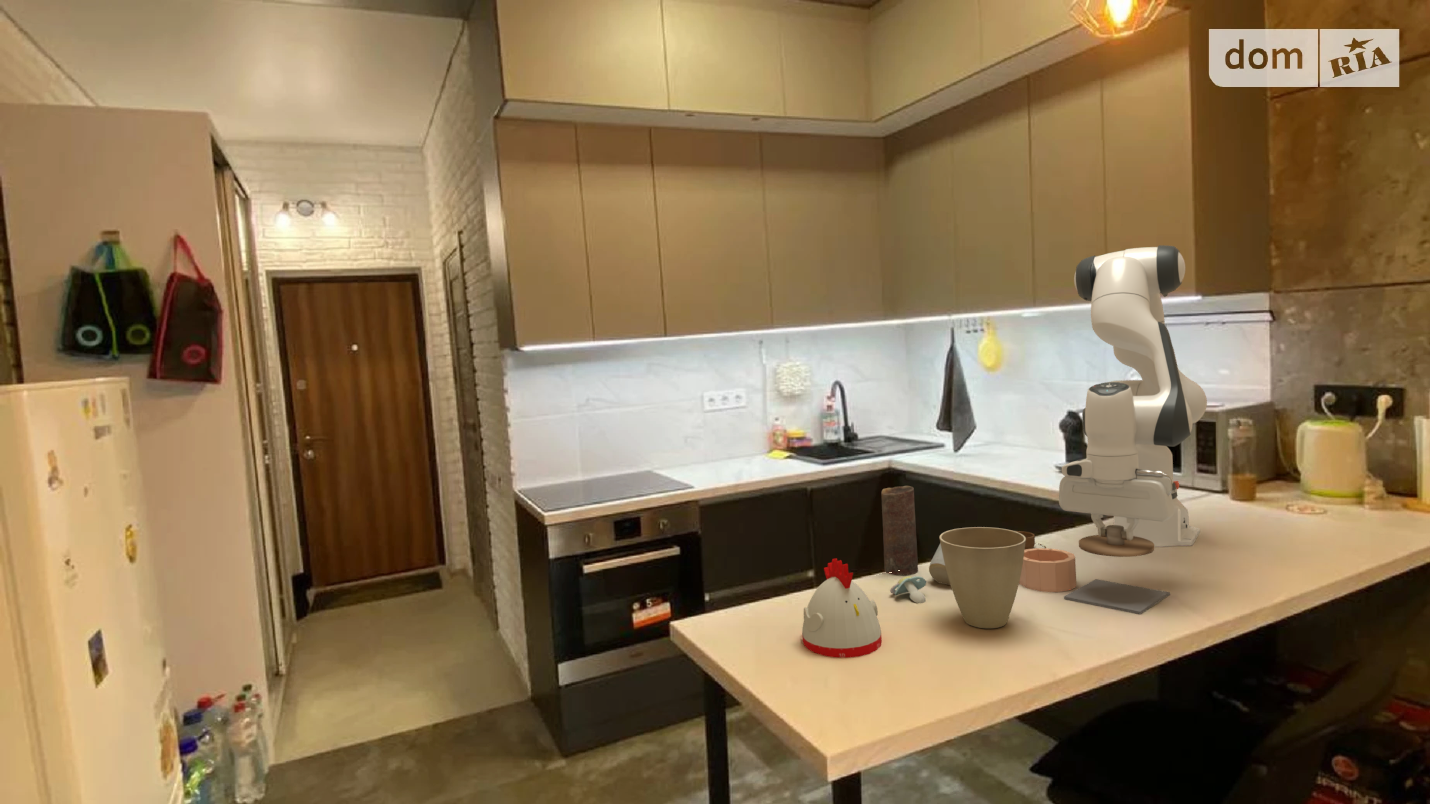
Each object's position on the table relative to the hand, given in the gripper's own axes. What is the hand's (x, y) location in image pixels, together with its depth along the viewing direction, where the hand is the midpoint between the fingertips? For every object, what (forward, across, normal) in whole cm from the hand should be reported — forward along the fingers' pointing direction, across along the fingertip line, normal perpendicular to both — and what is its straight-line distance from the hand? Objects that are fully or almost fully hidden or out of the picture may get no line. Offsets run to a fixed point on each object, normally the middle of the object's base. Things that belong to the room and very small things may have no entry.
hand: (1115, 537), depth 150 cm
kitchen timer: (+11, +26, +52) cm, 59 cm away
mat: (+12, 0, +1) cm, 12 cm away
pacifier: (+12, +32, +26) cm, 42 cm away
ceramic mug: (+12, +27, +13) cm, 32 cm away
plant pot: (+11, +12, +28) cm, 32 cm away
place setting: (+13, +30, -14) cm, 35 cm away
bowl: (+12, +14, +1) cm, 18 cm away
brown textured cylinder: (+12, +41, +14) cm, 45 cm away
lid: (+3, 0, 0) cm, 3 cm away
